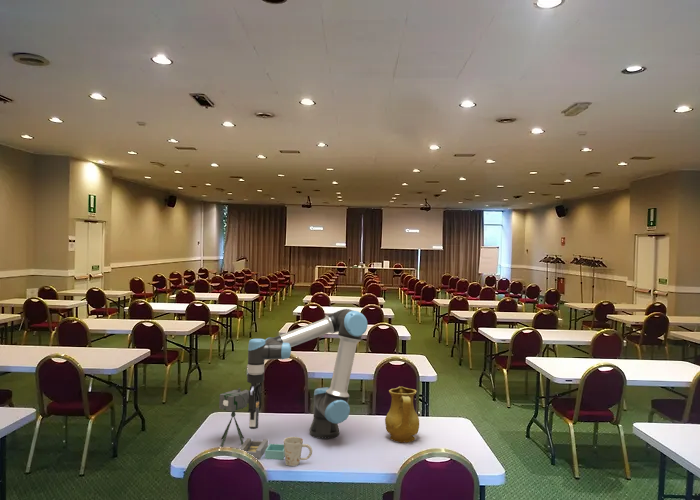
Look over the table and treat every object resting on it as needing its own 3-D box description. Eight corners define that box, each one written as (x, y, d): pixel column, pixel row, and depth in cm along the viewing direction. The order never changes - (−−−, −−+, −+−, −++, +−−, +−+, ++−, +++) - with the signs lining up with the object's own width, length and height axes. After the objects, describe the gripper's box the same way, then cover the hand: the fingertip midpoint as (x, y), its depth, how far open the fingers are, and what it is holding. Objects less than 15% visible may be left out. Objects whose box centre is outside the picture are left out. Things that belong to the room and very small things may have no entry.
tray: (287, 452, 221) (287, 444, 221) (283, 459, 213) (283, 451, 213) (269, 451, 222) (269, 443, 222) (264, 458, 213) (265, 450, 214)
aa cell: (259, 426, 222) (260, 398, 223) (256, 429, 218) (257, 401, 219) (250, 425, 222) (251, 398, 223) (248, 428, 218) (249, 400, 219)
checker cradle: (267, 447, 227) (268, 439, 227) (260, 459, 213) (260, 450, 213) (246, 446, 227) (247, 438, 228) (237, 458, 213) (238, 449, 214)
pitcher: (424, 434, 247) (422, 386, 247) (413, 449, 230) (411, 396, 230) (392, 430, 255) (391, 383, 255) (379, 443, 238) (378, 393, 238)
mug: (283, 459, 213) (284, 436, 213) (312, 459, 214) (312, 436, 214) (282, 467, 205) (283, 443, 205) (312, 467, 206) (312, 443, 206)
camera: (233, 450, 222) (234, 395, 223) (209, 443, 230) (211, 390, 231) (256, 440, 236) (258, 388, 236) (233, 433, 244) (235, 383, 244)
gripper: (252, 368, 230) (250, 418, 229) (242, 376, 213) (240, 430, 212) (268, 369, 229) (266, 419, 229) (258, 377, 212) (257, 431, 212)
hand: (253, 424), depth 220 cm, fingers closed on aa cell, 4 cm apart
